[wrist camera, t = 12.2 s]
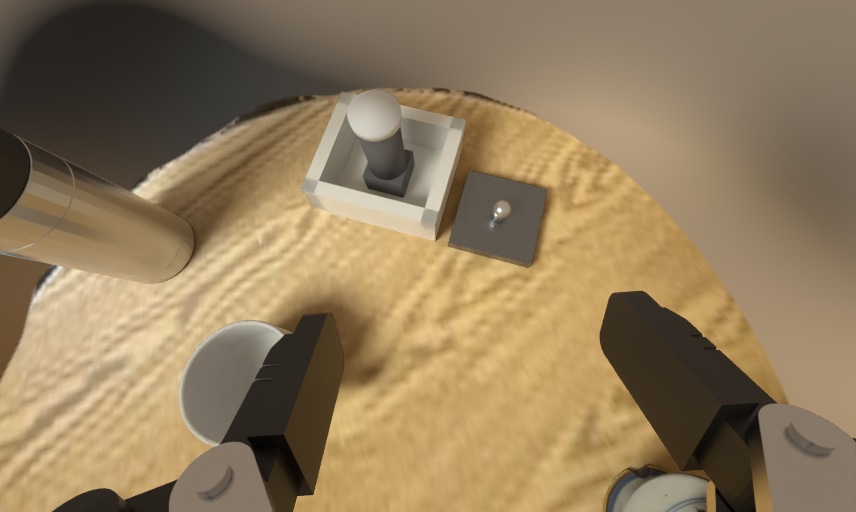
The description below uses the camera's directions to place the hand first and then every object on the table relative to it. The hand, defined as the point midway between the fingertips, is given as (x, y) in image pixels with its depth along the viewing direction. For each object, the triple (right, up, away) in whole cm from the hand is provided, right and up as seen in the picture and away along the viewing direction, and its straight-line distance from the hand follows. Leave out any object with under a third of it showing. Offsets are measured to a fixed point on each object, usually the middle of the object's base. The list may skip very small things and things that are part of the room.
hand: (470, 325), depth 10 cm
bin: (-6, +12, +33) cm, 36 cm away
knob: (-6, +12, +32) cm, 35 cm away
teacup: (-17, -12, +27) cm, 34 cm away
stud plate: (+7, +7, +31) cm, 33 cm away
